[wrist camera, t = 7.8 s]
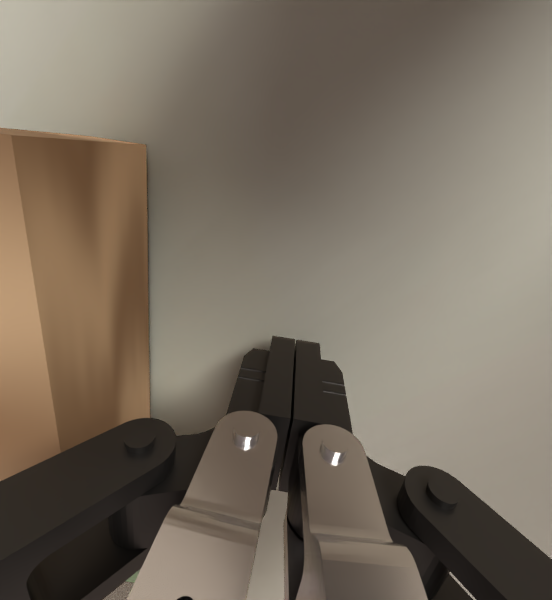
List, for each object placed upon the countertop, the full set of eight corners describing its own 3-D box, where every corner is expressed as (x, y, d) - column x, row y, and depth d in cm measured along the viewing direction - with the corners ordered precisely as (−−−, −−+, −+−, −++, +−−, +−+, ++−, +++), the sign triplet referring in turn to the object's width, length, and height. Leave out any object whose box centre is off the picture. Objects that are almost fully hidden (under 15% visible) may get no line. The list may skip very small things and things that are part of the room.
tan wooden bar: (-56, 114, 9) (-358, 78, 5) (146, 144, 9) (10, 134, 5) (27, 488, 15) (-80, 617, 11) (151, 509, 15) (90, 647, 11)
